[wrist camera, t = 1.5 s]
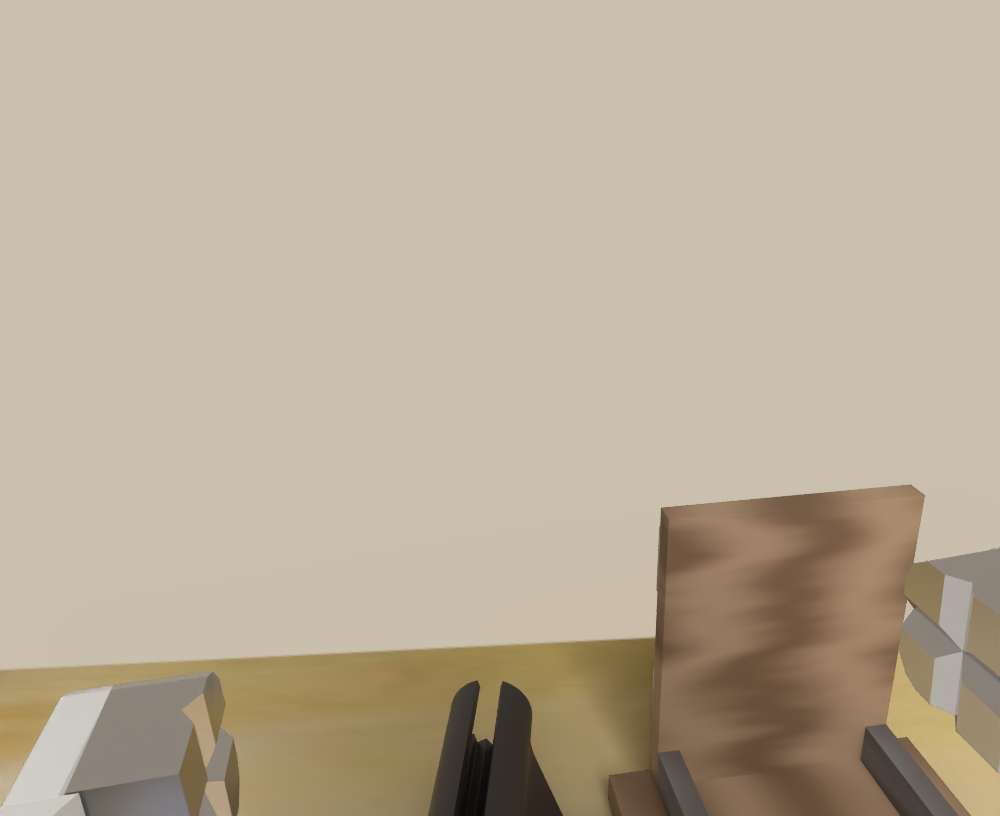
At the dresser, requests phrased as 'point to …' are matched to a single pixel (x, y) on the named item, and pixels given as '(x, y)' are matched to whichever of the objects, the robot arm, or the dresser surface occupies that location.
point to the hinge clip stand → (782, 662)
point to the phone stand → (490, 762)
